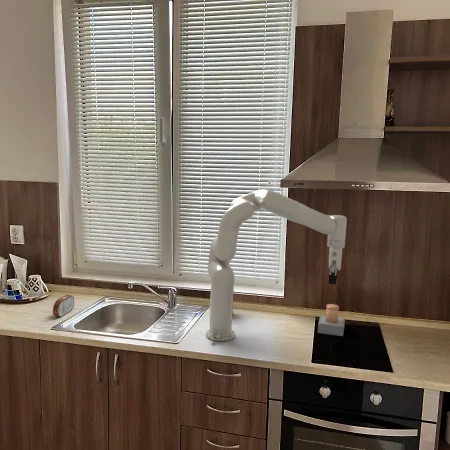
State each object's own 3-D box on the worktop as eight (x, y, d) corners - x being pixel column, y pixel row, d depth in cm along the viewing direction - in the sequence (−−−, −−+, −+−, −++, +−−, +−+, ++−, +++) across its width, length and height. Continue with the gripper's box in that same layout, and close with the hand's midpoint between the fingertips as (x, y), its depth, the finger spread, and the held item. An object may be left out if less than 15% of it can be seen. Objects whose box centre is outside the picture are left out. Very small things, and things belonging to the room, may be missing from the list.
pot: (337, 324, 200) (338, 308, 199) (324, 322, 202) (325, 307, 201) (338, 319, 206) (339, 304, 205) (325, 318, 207) (326, 303, 206)
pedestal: (343, 336, 198) (343, 326, 197) (317, 332, 201) (318, 323, 200) (344, 327, 208) (344, 318, 208) (319, 324, 211) (320, 315, 211)
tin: (69, 308, 223) (69, 292, 221) (75, 309, 222) (75, 292, 221) (52, 319, 208) (51, 301, 207) (58, 319, 207) (58, 302, 206)
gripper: (344, 247, 189) (340, 287, 192) (345, 240, 206) (342, 277, 208) (325, 245, 191) (322, 285, 194) (328, 239, 208) (325, 275, 210)
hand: (332, 281), depth 201 cm, fingers open, 9 cm apart
